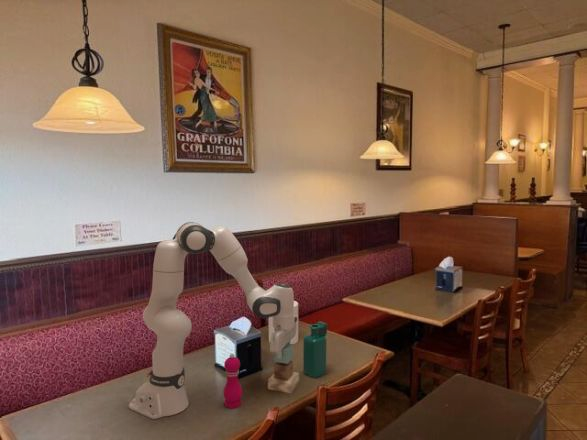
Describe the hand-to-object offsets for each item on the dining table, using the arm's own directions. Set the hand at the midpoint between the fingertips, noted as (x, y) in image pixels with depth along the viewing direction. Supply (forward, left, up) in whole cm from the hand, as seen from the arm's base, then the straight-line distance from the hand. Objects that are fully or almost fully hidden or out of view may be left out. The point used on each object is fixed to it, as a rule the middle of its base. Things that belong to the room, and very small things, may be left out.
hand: (283, 354), depth 172 cm
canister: (-19, +46, -14) cm, 52 cm away
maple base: (0, 0, -14) cm, 14 cm away
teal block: (0, 0, -2) cm, 2 cm away
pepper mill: (-13, -20, -14) cm, 27 cm away
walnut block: (0, 0, -10) cm, 10 cm away
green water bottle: (+9, +16, -14) cm, 23 cm away
